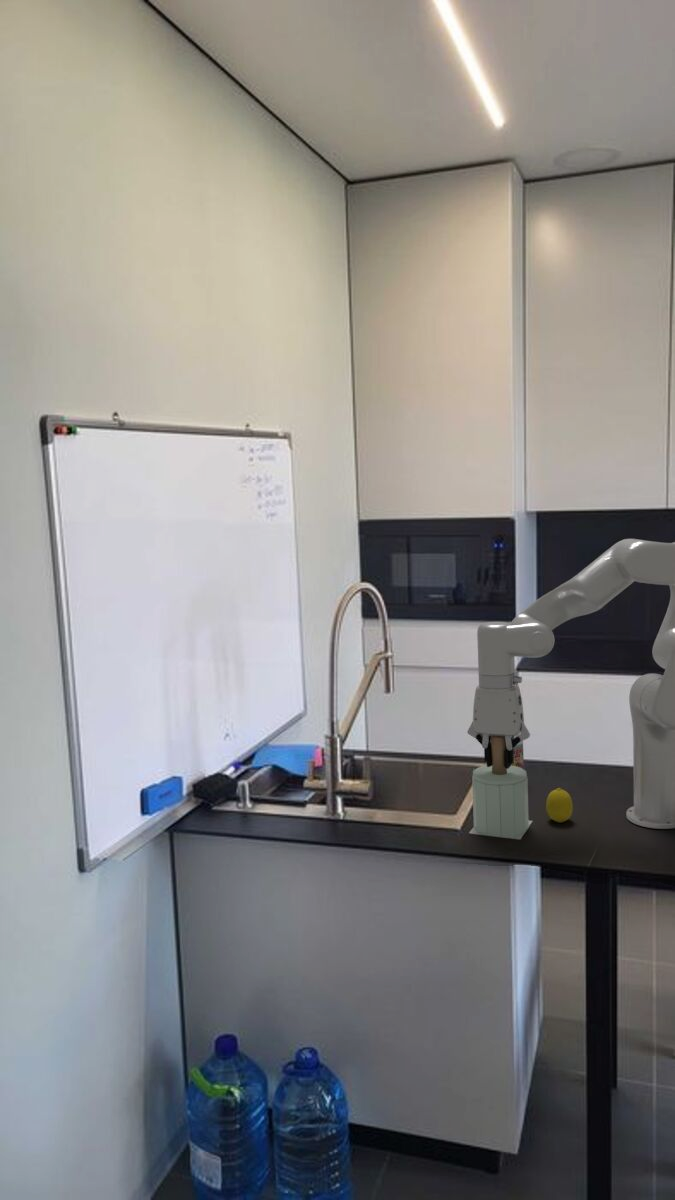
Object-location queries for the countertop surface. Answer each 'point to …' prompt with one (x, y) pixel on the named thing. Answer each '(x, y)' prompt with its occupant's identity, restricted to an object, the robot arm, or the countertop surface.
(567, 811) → the lemon
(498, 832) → the cylinder with wooden dowel
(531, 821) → the mat
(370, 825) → the countertop surface
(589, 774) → the countertop surface
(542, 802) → the countertop surface
